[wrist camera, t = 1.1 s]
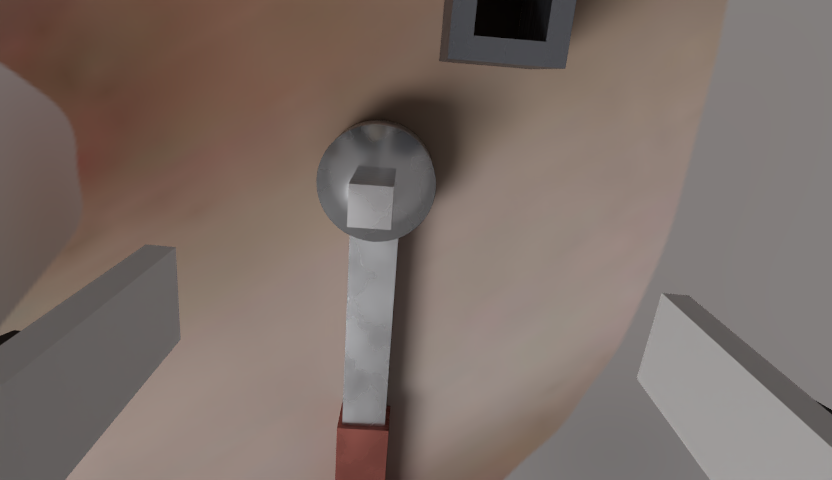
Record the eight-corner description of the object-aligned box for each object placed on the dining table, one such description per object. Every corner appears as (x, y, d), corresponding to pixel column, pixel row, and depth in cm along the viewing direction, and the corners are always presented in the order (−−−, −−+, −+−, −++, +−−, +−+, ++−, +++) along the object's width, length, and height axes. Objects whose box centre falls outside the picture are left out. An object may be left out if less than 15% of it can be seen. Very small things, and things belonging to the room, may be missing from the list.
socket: (448, -44, 29) (460, -78, 22) (546, -35, 29) (587, -66, 22) (439, 61, 30) (447, 58, 24) (531, 69, 31) (565, 68, 24)
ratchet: (326, 115, 31) (299, 129, 24) (438, 124, 32) (447, 141, 24) (317, 496, 41) (296, 593, 33) (403, 500, 41) (402, 598, 33)
